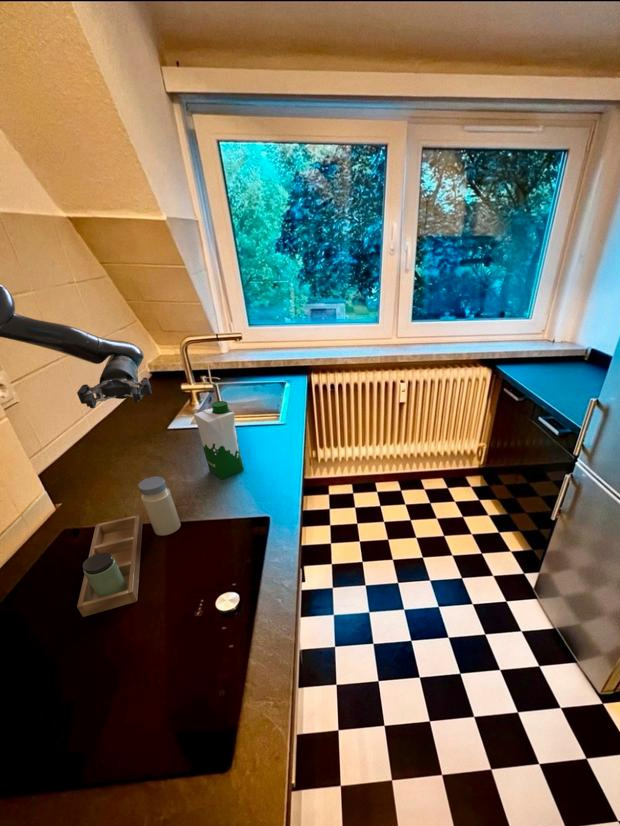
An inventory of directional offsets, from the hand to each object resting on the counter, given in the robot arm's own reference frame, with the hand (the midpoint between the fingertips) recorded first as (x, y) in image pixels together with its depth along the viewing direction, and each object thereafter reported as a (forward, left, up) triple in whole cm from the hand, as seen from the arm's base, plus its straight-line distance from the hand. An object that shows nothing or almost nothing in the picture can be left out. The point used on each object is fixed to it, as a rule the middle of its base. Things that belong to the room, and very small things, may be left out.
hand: (113, 401), depth 83 cm
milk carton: (+22, 0, -28) cm, 36 cm away
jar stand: (-15, -15, -28) cm, 35 cm away
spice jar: (-18, -23, -27) cm, 40 cm away
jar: (-2, -12, -28) cm, 31 cm away
